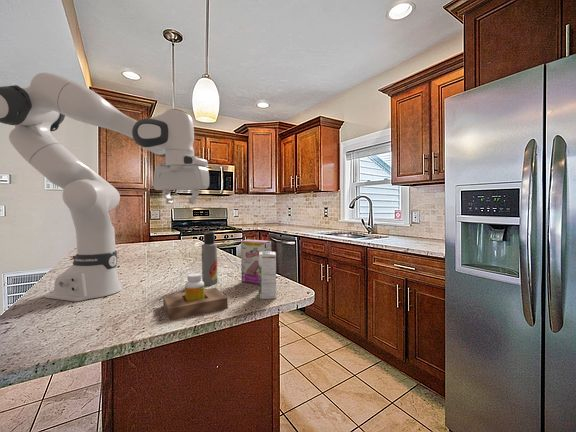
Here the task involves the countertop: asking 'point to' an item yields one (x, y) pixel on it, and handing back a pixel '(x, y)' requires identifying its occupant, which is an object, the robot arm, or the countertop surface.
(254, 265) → the candy bar box
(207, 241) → the lotion bottle
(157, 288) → the countertop surface
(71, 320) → the countertop surface
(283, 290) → the countertop surface
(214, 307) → the socket block
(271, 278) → the syrup box
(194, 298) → the supplement bottle
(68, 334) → the countertop surface
